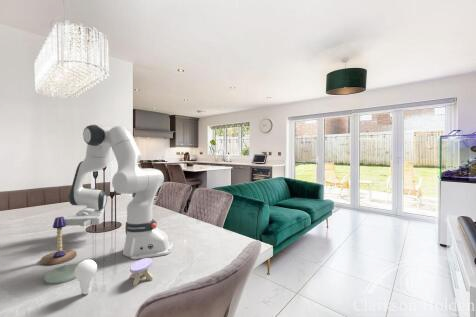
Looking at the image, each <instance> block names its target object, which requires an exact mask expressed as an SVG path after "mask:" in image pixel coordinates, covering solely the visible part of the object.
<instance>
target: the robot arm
mask: <svg viewBox="0 0 476 317" xmlns="http://www.w3.org/2000/svg"><path fill="white" fill-rule="evenodd" d="M82 136H83V140H84V142H85V143H86V152H85V153H86V154H85V158H84V160H82V161H80V162H78V165H77V167H76V170H75V173H74V177H73V182H72V184H71V188H70V190H69V193H68V196H67V200H68V203H69V204H70V205H71V206H82V207H84V206H85V208H82V209H81V210H79V211H77V212H76V214H70V215H68V214H67V215H62V216H61V217H64V219H65V222H66V226H65V227H69V226H70V227H73V226H80V227H87V226H95V225H97V226H98V225H101V224H102V223H103V222H104V213H105V207H106V206H107V202H108V196H107V194H106V191H104V190H102V189H101V190H100V189H94V188H93V189H92V188H85V187H83V185H84V181H85V178H86V175H87V174H88V173H91V172H97V171H101V170H103V169H105V168H106V167H107V166H109V165H108V164H109V162H110V158H111V155H110V154H111V153H110V152H111V149H112V152H113V154H114V157H115V159H116V162H117V171H116V173H114V175H113V177H112V180H111V186H112V188H113V189H114V191H115V193H118V194H121V195H122V194H125V195H126V194H127V195H130V194H135V195H134V197H133V199H132V200H131V201H129V203H128V204H127V206H126V221H125V242H124V247H123V250H122V254H123V256H125V257H127V258H130V259H131V260H137V259H139V260H141V259H144V258H153V257H159V256H166V255H169V254H171V252H172V251H173V250H174V244H173V242H172V241H169V236H168V234H167V233H166V232H165V231H164V230H161V229H160V228H158V227H157V220H156V219H155V220H154V219H153V205H154V200H155V198H156V195H157V193H158V190H159V189H160V188H161V187H162V186H163V184H164V181H165V177H164V174H163V172H162V171H161V170H160V169H157V168H151V167H150V168H140V166H139V162H140V161H141V159H142V156H143V155H142V152H141V150H140V148H139V145H138V144H137V141H136V140H135V138H134V137H133V134H132V133H131V132H130V131H129V129H128V128H127V127H126V126H123V125H109V124H98V125H97V124H90V125H87V126H86V127H85V128H84V129H83V133H82Z"/></svg>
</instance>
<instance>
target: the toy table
mask: <svg viewBox="0 0 476 317" xmlns="http://www.w3.org/2000/svg"><path fill="white" fill-rule="evenodd" d="M152 264H153V259H152V257H147V258H140V259H139V260H136V261H134V262H133V264H132V265H131V266H130V267H129V271H130V273H131V274H130V275H129V278H130V279H134V280H133V283H132V285H133V286H137V285H138V284H139V283H140V279H141V276H142V275H143V276H144V277H145V280H146V281H153V280H154V276H153V274H152V273H151V272H150V269H149V268H150V267H152Z"/></svg>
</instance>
